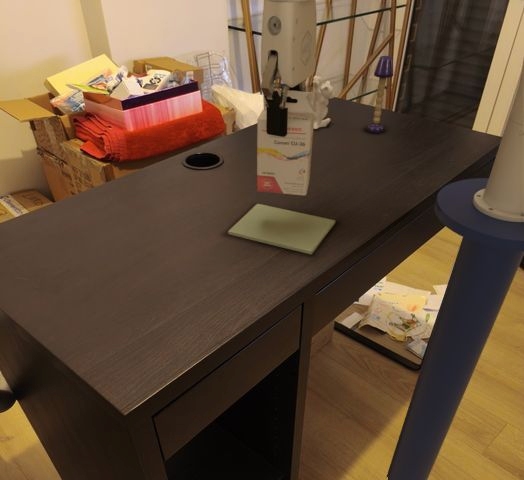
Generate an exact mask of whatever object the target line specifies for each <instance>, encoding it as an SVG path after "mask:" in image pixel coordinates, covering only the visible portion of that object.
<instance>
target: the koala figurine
mask: <svg viewBox="0 0 524 480" xmlns="http://www.w3.org/2000/svg"><path fill="white" fill-rule="evenodd" d="M312 84H313V90H312V92H313V93H314V95H315V97H314V109H313V113H314V114H315V116H314V127H313V130H318V129H319V128H326V127H327V126H328V124H330V122H331V118H329V117H328V118H325V117H326V116H327V114H328V113H329V107H327V106H329V102H330V101H329V100H331V99H334V98H335V97H336V93H335V90H334V87H333V86H332V85H331V82H330V80H327V81H326V82H324V83H323V78H322V76H319V75H314V77H313V80H312ZM324 118H325V119H324Z"/></svg>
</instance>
